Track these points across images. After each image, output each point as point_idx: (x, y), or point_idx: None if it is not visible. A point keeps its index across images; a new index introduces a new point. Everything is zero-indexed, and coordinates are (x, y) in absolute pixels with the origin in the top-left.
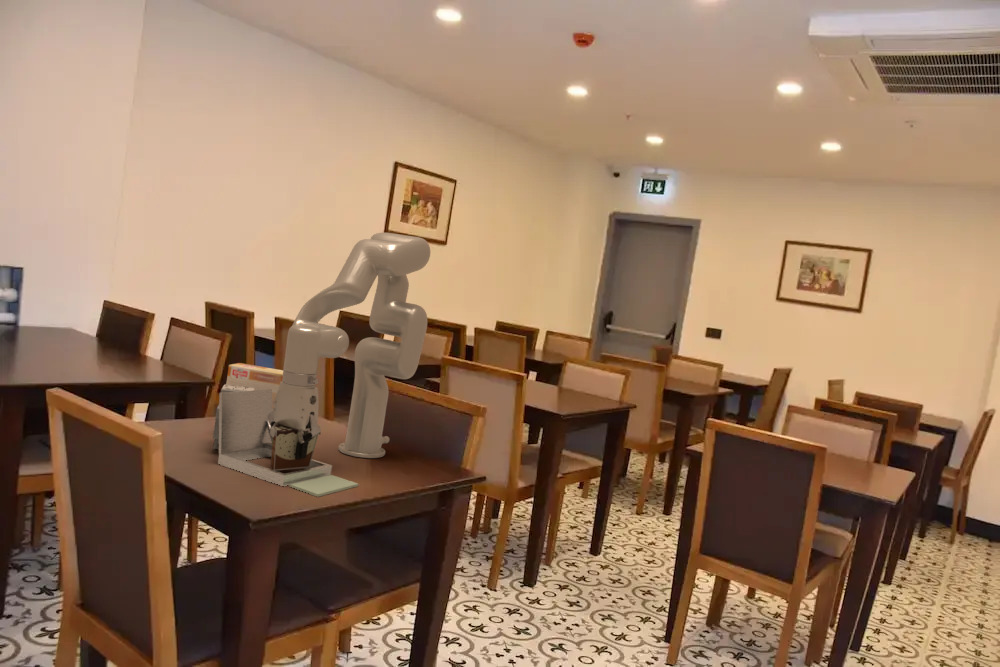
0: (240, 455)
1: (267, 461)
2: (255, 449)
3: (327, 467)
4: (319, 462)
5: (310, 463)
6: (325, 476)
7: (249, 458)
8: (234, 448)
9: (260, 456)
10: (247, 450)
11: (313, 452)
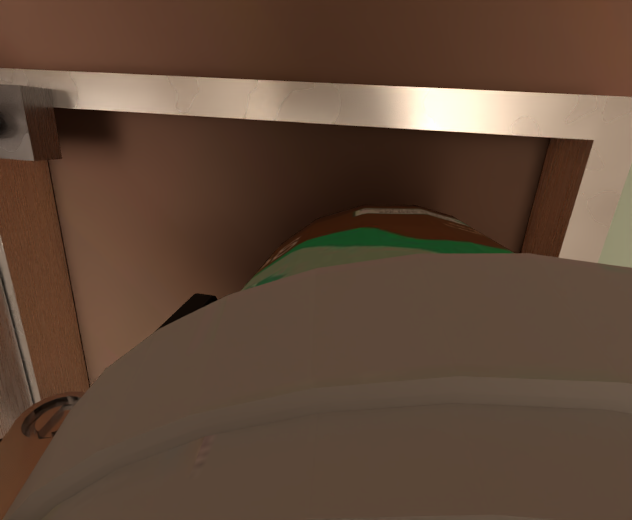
0: (50, 342)
1: (118, 196)
2: (5, 244)
3: (622, 167)
4: (500, 123)
5: (460, 221)
6: (612, 221)
7: (59, 266)
8: (9, 402)
9: (42, 180)
10: (18, 309)
11: (499, 244)
